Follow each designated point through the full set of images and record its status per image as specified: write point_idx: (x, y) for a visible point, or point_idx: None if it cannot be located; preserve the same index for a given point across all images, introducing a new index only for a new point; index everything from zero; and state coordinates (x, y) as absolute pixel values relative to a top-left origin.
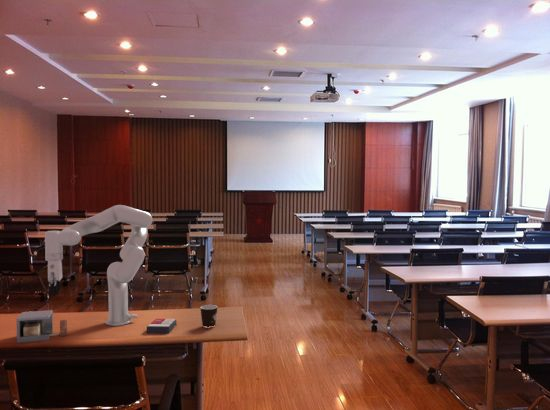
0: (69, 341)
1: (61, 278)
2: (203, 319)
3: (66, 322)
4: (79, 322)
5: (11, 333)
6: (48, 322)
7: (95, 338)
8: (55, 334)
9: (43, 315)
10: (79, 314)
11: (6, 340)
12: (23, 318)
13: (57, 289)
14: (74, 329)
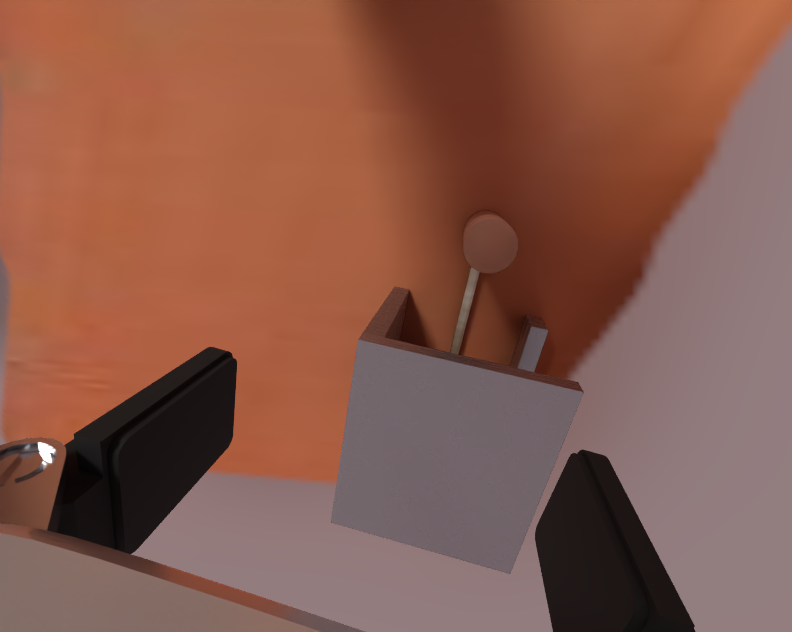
0: (653, 206)
1: (200, 595)
2: None
3: (504, 221)
4: (231, 109)
5: (321, 458)
6: (393, 334)
7: (713, 2)
8: (476, 280)
9: (518, 421)
10: (42, 98)
11: None
12: (522, 540)
13: (229, 393)
14: (385, 154)
